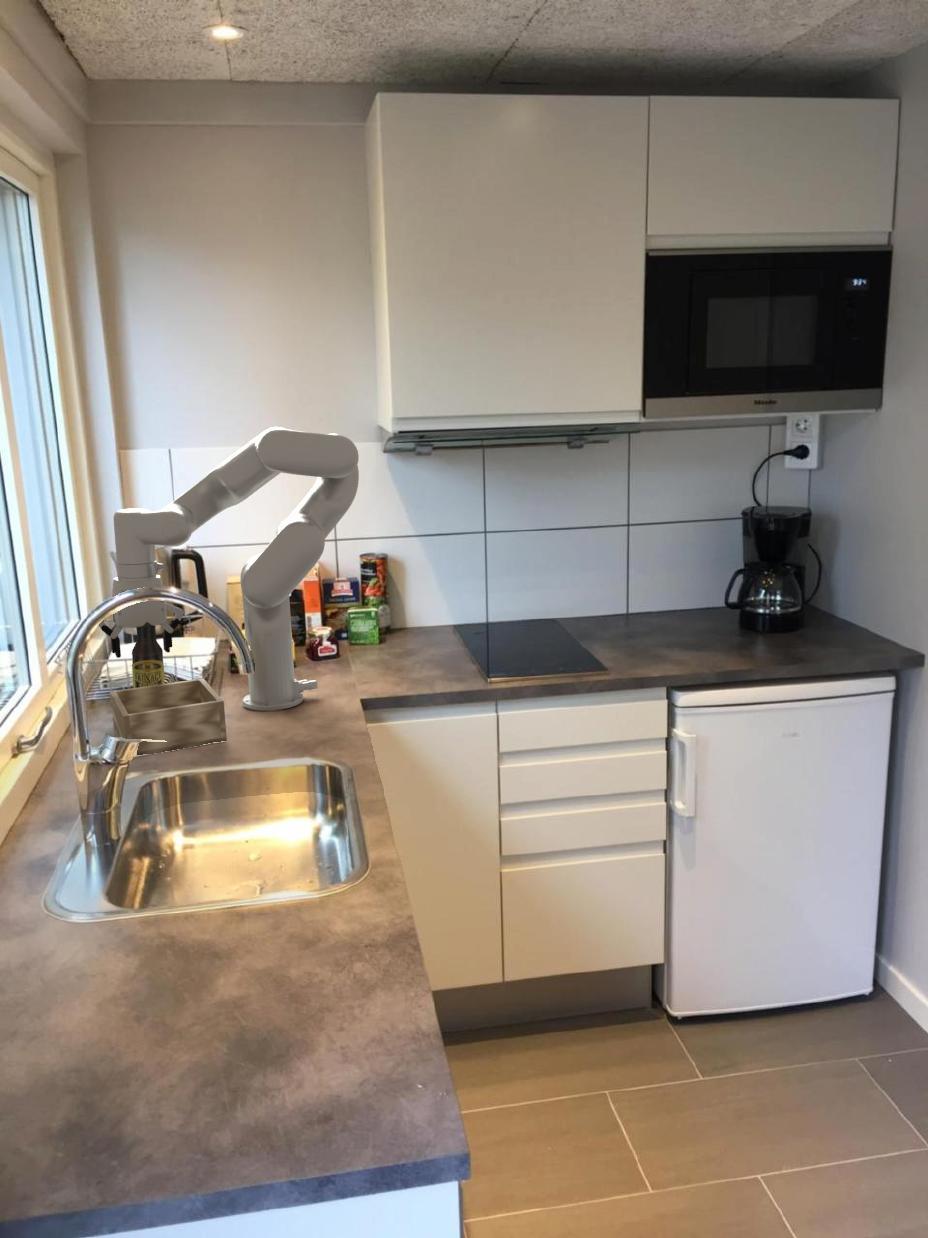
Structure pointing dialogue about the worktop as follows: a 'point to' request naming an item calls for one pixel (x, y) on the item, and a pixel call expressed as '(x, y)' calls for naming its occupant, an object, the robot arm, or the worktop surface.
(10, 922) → the worktop surface
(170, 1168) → the worktop surface
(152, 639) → the sauce bottle
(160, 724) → the crate
